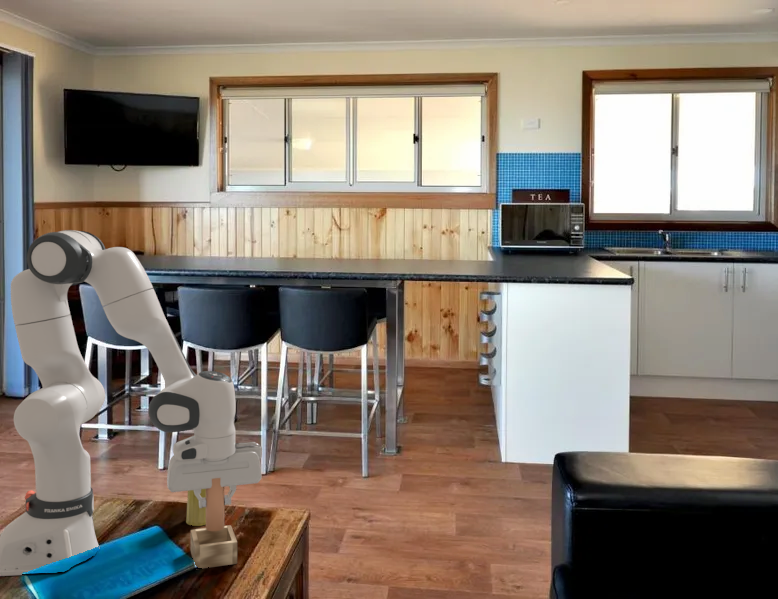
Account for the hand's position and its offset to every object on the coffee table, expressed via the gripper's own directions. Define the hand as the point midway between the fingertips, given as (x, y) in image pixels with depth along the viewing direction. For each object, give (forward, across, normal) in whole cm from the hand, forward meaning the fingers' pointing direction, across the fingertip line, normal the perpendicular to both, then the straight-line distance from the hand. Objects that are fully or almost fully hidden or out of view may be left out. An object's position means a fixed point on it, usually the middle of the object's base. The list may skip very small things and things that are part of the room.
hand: (214, 505), depth 159 cm
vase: (+12, +1, -20) cm, 24 cm away
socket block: (+12, 0, 0) cm, 12 cm away
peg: (+5, 0, 0) cm, 5 cm away
